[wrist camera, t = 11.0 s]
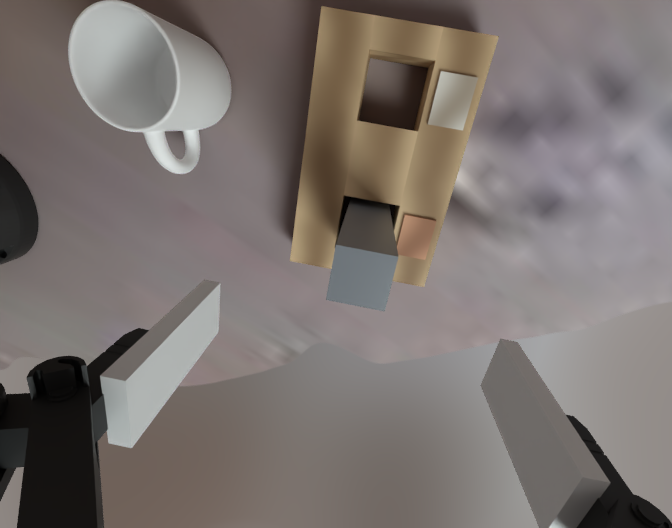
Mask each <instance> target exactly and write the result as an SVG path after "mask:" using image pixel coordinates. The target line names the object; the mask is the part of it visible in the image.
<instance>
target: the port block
mask: <svg viewBox="0 0 672 528" xmlns="http://www.w3.org/2000/svg"><path fill="white" fill-rule="evenodd" d="M498 37H499V36H494V35H488V34H482V33H476V32H471V31H465V30H459V29H453V28H447V27H441V26H435V25H429V24H424V23H418V22H412V21H406V20H400V19H394V18H388V17H383V16H377V15H371V14H365V13H359V12H353V11H347V10H342V9H336V8H330V7H324V6H321V14H320V22H319V30H318V38H317V46H316V54H315V63H314V71H313V79H312V87H311V95H310V103H309V111H308V119H307V127H306V135H305V144H304V152H303V160H302V168H301V176H300V184H299V192H298V200H297V208H296V217H295V225H294V233H293V241H292V249H291V257H290V261H293V262H298V263H304V264H309V265H314V266H319V267H324V268H329V269H332V264H333V258H334V252H335V247H336V243H337V240H338V235H339V229H340V224H341V218H342V212H343V207H344V201H345V196H350V197H356V198H361V199H366V200H372V201H377V202H382V203H387V204H393V205H396V206H395V210H394V214H393V219H392V224H393V229H394V234H395V240H396V245H397V251H398V256H399V257H398V261H397V265H396V269H395V273H394V276H393V280H392V281H396V282H401V283H406V284H411V285H416V286H421V287H424V285H425V281H426V278H427V275H428V271H429V268H430V265H431V261H432V258H433V255H434V251H435V248H436V245H437V241H438V238H439V235H440V231H441V228H442V225H443V221H444V218H445V215H446V211H447V208H448V205H449V201H450V198H451V195H452V191H453V188H454V184H455V181H456V178H457V174H458V171H459V168H460V164H461V161H462V158H463V154H464V151H465V148H466V144H467V141H468V138H469V134H470V131H471V128H472V124H473V121H474V118H475V114H476V111H477V108H478V104H479V101H480V98H481V94H482V91H483V87H484V84H485V81H486V77H487V74H488V71H489V67H490V64H491V61H492V57H493V54H494V51H495V47H496V44H497V41H498ZM370 58H373V59H379V60H384V61H390V62H396V63H402V64H407V65H413V66H419V67H425V68H428V72H427V76H426V80H425V84H424V88H423V93H422V97H421V101H420V105H419V109H418V114H417V118H416V122H415V126H414V130H413V131H412V130H407V129H401V128H396V127H390V126H385V125H379V124H373V123H368V122H362V121H359V117H360V111H361V106H362V100H363V94H364V89H365V83H366V77H367V72H368V66H369V61H370Z"/></svg>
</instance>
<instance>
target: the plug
mask: <svg viewBox="0 0 672 528" xmlns="http://www.w3.org/2000/svg"><path fill="white" fill-rule="evenodd" d="M398 257H399V256H398V251H397V245H396V240H395V234H394V229H393V224H392V218H391V213H390V207H389V204H387V203H382V202H377V201H372V200H366V199H361V198H356V197H351V199H350V202H349V205H348V209H347V212H346V215H345V218H344V221H343V224H342V227H341V230H340V233H339V236H338V240H337V243H336V247H335V252H334V258H333V264H332V269H331V275H330V281H329V286H328V292H327V298H326V300H330V301H335V302H340V303H345V304H350V305H355V306H360V307H365V308H370V309H375V310H380V311H385V308H386V304H387V300H388V296H389V292H390V288H391V284H392V280H393V276H394V273H395V269H396V265H397V261H398Z"/></svg>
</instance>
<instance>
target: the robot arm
mask: <svg viewBox="0 0 672 528" xmlns="http://www.w3.org/2000/svg"><path fill="white" fill-rule="evenodd" d="M37 232H38V216H37V211H36V207H35V204H34V201H33V198H32V196H31V194H30V192H29V190H28V188H27V186H26V184H25V183H24V181H23V180H22V178H21V177H20V176H19V174H18V173H17V172H16V171H15V169H14V168H13V167H12V166H11V165H10V164H9V163H8V162H7V161H6V160H5V159H4V158H3V157H1V156H0V264H3V263H6V262H9V261H11V260H14V259H17V258H19V257H21V256H23V255H24V254H26V253H27V252H28V251H29V250H30V249H31V247H32V246H33V244H34V242H35V240H36V237H37ZM219 306H220V283H219V282H214V281H209V280H204V281H202V282H201V283H200V284H199V285H198V286H197V287H196V288H195V289H194V290H193V291H192V292H190V293H189V294H188V295H187V296H186V297H185V298H184V299H183V300H182V301H181V302H180V303H179V304H177V305H176V306H175V307H174V308H173V309H172V310H171V311H170V312H169V313H168V314H167V315H165V316H164V317H163V318H162V319H161V320H160V321H159V322H158V323H157V324H156V325H155V326H153V327H152V328H151V329H150V330H145V329H140V328H138V329H136V330H133V331H131V332H129V333H127V334H125V335H123V336H122V337H121V338H120V339H119V340H117V341H116V342H115V343H114V345H112V346H110V347H109V348H108V349H107V350H106V352H103V353H102V354H101V355H100V356H99V357H97V358H96V359H95V360H94V361H93V362H91V363H90V364H89V365H88V366H86V363H85V361H84V360H83V359H81V358H79V357H74V356H62V357H56V358H53V359H49V360H46V361H44V362H42V363H40V364H39V365H37V366H36V367H34V368H33V369H32V370H31V371H30V372H29V374H28V376H27V381H28V386H29V390H30V393H28V394H27V393H24V394H6V392H5V389H4V387H3V385H2V384H1V383H0V501H1V499H2V497H3V494H4V492H5V490H6V488H7V486H8V484H9V482H10V480H11V477H12V475H13V473H14V471H15V469H16V467H24V473H23V481H22V489H21V498H20V506H19V515H18V523H17V528H104V520H103V506H102V492H101V478H100V465H99V450H98V442H97V441H98V440H99V439H100V438H101V436H102V435H103V434H104V433H105V432H106V431H107V434H108V443H110V444H115V445H120V446H124V447H129V448H132V447H133V446H134V444H135V443H136V442H137V440H138V439H139V438H140V436H141V435H142V434H143V432H144V431H145V430H146V428H147V427H148V426H149V424H150V423H151V422H152V420H153V419H154V418H155V416H156V415H157V413H158V412H159V411H160V409H161V408H162V407H163V406H164V404H165V403H166V402H167V400H168V399H169V397H170V396H171V395H172V393H173V392H174V391H175V389H176V388H177V387H178V385H179V384H180V383H181V381H182V380H183V379H184V377H185V376H186V375H187V373H188V372H189V371H190V369H191V368H192V367H193V365H194V364H195V363H196V361H197V360H198V359H199V357H200V356H201V355H202V353H203V352H204V351H205V349H206V348H207V347H208V345H209V344H210V343H211V341H212V340H213V339H214V337H215V336H216V335H217V333H218V331H219ZM481 387H482V390H483V392H484V395H485V397H486V399H487V402H488V404H489V407H490V409H491V412H492V414H493V416H494V419H495V421H496V424H497V426H498V429H499V431H500V433H501V436H502V438H503V441H504V443H505V446H506V448H507V451H508V453H509V455H510V458H511V460H512V463H513V465H514V468H515V470H516V472H517V475H518V477H519V480H520V482H521V485H522V487H523V489H524V492H525V494H526V496H527V499H528V502H529V504H530V506H531V509H532V511H533V514H534V516H535V518H536V521H537V524H538V526H539V528H672V523H671V522H670V520H669V519H668V518H667V517H666V516H665V515H664V514H663V513H662V512H661V511H660V510H659V509H658V508H656V507H655V506H654V505H652V504H651V503H650V502H648V501H647V500H645V499H643V498H641V497H639V496H637V495H633V494H632V492H631V491H630V489H629V488H628V487H627V485H626V484H625V482H624V481H623V479H622V478H621V476H620V475H619V474H618V472H617V471H616V469H615V468H614V467H613V465H612V464H611V462H610V461H609V459H608V458H607V456H606V455H604V452H603V451H602V449H601V448H600V447H599V445H598V444H596V441H595V439H594V438H593V437H592V435H591V434H590V432H589V431H588V430H587V428H586V427H584V426H583V425H582V424H581V423H580V422H579V421H578V420H577V419H576V418H575V417H574V416H569V415H565V413H564V412H563V410H562V409H561V407H560V406H559V404H558V403H557V401H556V400H555V399H554V397H553V395H552V394H551V392H550V391H549V389H548V388H547V386H546V385H545V383H544V382H543V380H542V379H541V377H540V375H539V374H538V372H537V371H536V369H535V368H534V366H533V365H532V363H531V362H530V360H529V359H528V357H527V356H526V354H525V353H524V351H523V350H522V348H521V347H520V345H519V344H518V343H517V342H514V341H509V340H504V339H500V341H499V344H498V346H497V348H496V351H495V353H494V355H493V358H492V360H491V363H490V365H489V367H488V370H487V372H486V374H485V377H484V379H483V381H482V383H481Z"/></svg>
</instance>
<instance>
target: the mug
mask: <svg viewBox="0 0 672 528" xmlns="http://www.w3.org/2000/svg"><path fill="white" fill-rule="evenodd" d="M68 59H69V66H70V70H71V74H72V77H73V80H74V82H75V85H76V87H77V89H78V91H79V93H80V94H81V96H82V98H83V99H84V101H85V102H86V103H87V105H88V106H89V107H90V108H91V109H92V110H93V111H94V112H95V113H96V114H97V115H98V116H99V117H100V118H102V119H103V120H104V121H106V122H107V123H109V124H111V125H112V126H114V127H117V128H119V129H122V130H125V131H131V132H143V133H144V136H145V139H146V142H147V144H148V146H149V149H150V150H151V152H152V154H153V156H154V157H155V159H156V160H157V161H158V162H159V164H160V165H162V166H163V167H164V168H165V169H167V170H168V171H170V172H173V173H176V174H185V173H188V172H190V171H192V170H193V169H194V168H195V166H196V165H197V163H198V160H199V156H200V137H199V130H201V129H205V128H208V127H210V126H212V125H214V124H216V123H217V122H218V121H219V120H220V119H221V118H222V117H223V116H224V114H225V113H226V111H227V109H228V107H229V104H230V100H231V89H232V88H231V80H230V75H229V72H228V69H227V67H226V64H225V63H224V61H223V59H222V58H221V56H220V55H219V53H218V52H217V51H216V50H215V49H214V48H213V47H212V46H211V45H210V44H208V43H207V42H206V41H204V40H203V39H201V38H199V37H197V36H195V35H193V34H191V33H189V32H187V31H185V30H183V29H181V28H179V27H177V26H175V25H173V24H171V23H169V22H167V21H165V20H163V19H161V18H159V17H157V16H155V15H153V14H151V13H149V12H147V11H145V10H143V9H141V8H139V7H137V6H135V5H133V4H131V3H128V2H125V1H120V0H104V1H99V2H96V3H94V4H92V5H90V6H89V7H87V8H86V9H85V10H84V11H82V12H81V14H80V15H79V16H78V17H77V19H76V21H75V23H74V24H73V27H72V29H71V32H70V37H69V43H68ZM165 131H183V135H184V140H185V155H184V157H183V158H182V159H178V158H176V157H175V156H174V155H173V153H172V152H171V150H170V148H169V146H168V143H167V140H166V136H165Z"/></svg>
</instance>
